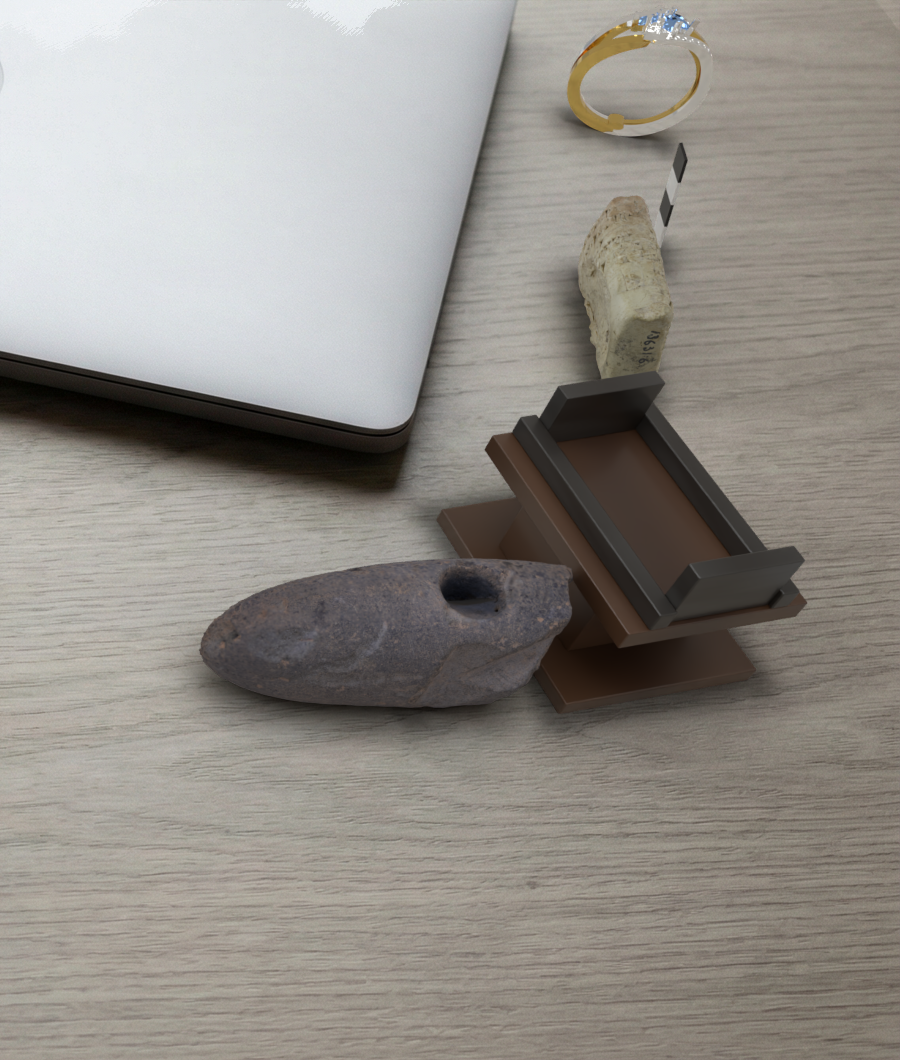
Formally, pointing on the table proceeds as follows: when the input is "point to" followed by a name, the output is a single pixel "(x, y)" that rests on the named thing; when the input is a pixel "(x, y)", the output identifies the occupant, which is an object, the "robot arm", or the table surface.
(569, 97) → the ring
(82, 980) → the table surface
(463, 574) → the perforated stone tool
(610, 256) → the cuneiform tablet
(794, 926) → the table surface
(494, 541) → the stand
